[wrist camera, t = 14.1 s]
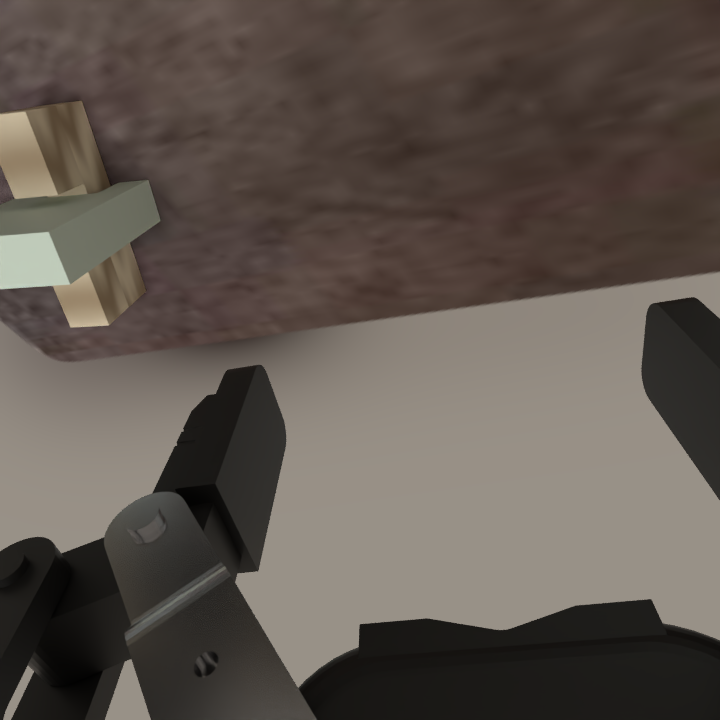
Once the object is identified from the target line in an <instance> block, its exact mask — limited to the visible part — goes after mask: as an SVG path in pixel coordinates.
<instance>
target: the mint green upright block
mask: <svg viewBox="0 0 720 720" xmlns="http://www.w3.org/2000/svg"><path fill="white" fill-rule="evenodd" d="M160 221H161V220H160V217H159V213H158V210H157V207H156V204H155V200H154V197H153V194H152V190H151V187H150V184H149V180H141V181H130V182H120V183H117V184H115V185H113V186H111V187H109V188H107V189H104V190H102V191H100V192H98V193H91V194H81V195H70V196H59V197H47V196H42V197H31V198H21V199H13V200H11V201H8V202H6V203H3V204H1V205H0V289H9V288H25V287H40V286H55V285H70V284H72V283H73V282H75V281H76V280H77V279H79V278H80V277H82V276H83V275H85V274H86V273H87V272H89V271H90V270H92V269H93V268H94V267H96V266H97V265H99V264H100V263H102V262H103V261H104V260H106V259H107V258H109V257H110V256H112V255H113V254H114V253H116V252H117V251H119V250H120V249H121V248H123V247H124V246H126V245H127V244H129V243H130V242H131V241H133V240H134V239H136V238H137V237H139V236H140V235H141V234H143V233H144V232H146V231H147V230H148V229H150V228H151V227H153V226H154V225H156V224H157V223H158V222H160Z"/></svg>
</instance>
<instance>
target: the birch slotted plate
mask: <svg viewBox="0 0 720 720" xmlns="http://www.w3.org/2000/svg"><path fill="white" fill-rule="evenodd" d="M0 165H1V168H2V170H3V172H4V174H5V177H6V179H7V181H8V184H9V186H10V188H11V191H12V193H13V195H14V198H15V199H21V198H31V197H42V196H47V197H59V196H70V195H81V194H91V193H98V192H100V191H102V190H104V189H107V188H109V187H111V186H110V183H109V180H108V177H107V174H106V171H105V168H104V165H103V162H102V159H101V156H100V153H99V150H98V147H97V144H96V141H95V138H94V135H93V133H92V130H91V127H90V124H89V121H88V118H87V115H86V112H85V109H84V106H83V103H82V101H75V102H66V103H58V104H50V105H42V106H36V107H31V108H25V109H20V110H14V111H9V112H4V113H0ZM53 287H54V290H55V292H56V294H57V297H58V299H59V301H60V304H61V306H62V308H63V311H64V313H65V315H66V317H67V320H68V322H69V324H70V327H88V326H106V325H110V324H111V323H112V322H113V321H114V320H115V319H117V318H118V317H119V316H120V315H121V314H122V313H123V312H124V311H125V310H126V309H127V308H128V307H130V306H131V305H132V304H133V303H134V302H135V301H136V300H137V299H138V298H139V297H140V296H142V295H143V294H144V293H145V292H146V289H145V286H144V283H143V280H142V277H141V274H140V271H139V268H138V265H137V262H136V259H135V256H134V253H133V250H132V247H131V244H130V243H129V244H127V245H126V246H124V247H123V248H121V249H120V250H119V251H117V252H116V253H114V254H113V255H112V256H110V257H109V258H107V259H106V260H104V261H103V262H102V263H100V264H99V265H97V266H96V267H94V268H93V269H92V270H90V271H89V272H87V273H86V274H85V275H83V276H82V277H80V278H79V279H77V280H76V281H75V282H73V283H72V284H70V285H55V286H53Z"/></svg>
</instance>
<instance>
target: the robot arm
mask: <svg viewBox="0 0 720 720" xmlns="http://www.w3.org/2000/svg"><path fill="white" fill-rule="evenodd" d="M642 381H643V385H644V389H645V392H646V394H647V396H648V398H649V399H650V401H651V402H652V404H653V405H654V407H655V408H656V410H657V411H658V412H659V414H660V415H661V417H662V418H663V420H664V421H665V422H666V424H667V425H668V427H669V428H670V430H671V431H672V432H673V434H674V435H675V437H676V438H677V440H678V441H679V443H680V444H681V445H682V447H683V448H684V450H685V451H686V453H687V454H688V455H689V457H690V458H691V460H692V461H693V463H694V464H695V465H696V467H697V468H698V470H699V471H700V473H701V474H702V475H703V477H704V478H705V480H706V481H707V483H708V484H709V486H710V487H711V488H712V490H713V491H714V493H715V494H716V495H717V497H718V498H719V500H720V319H719V318H718V317H717V316H716V315H715V314H714V313H713V312H712V311H710V310H709V309H708V308H707V307H706V306H705V305H704V304H703V303H702V302H700V301H699V300H698V299H696V298H694V297H693V298H692V297H691V298H685V299H678V300H672V301H666V302H659V303H653V304H651V305H650V306H649V308H648V311H647V315H646V325H645V338H644V348H643V358H642ZM183 429H184V432H181V434H180V437H179V439H178V441H177V446H175V447H174V449H173V452H172V453H171V456H170V457H169V460H168V462H167V464H166V466H165V468H164V470H163V472H162V474H161V476H160V479H159V481H158V483H157V485H156V487H155V489H154V491H153V493H152V494H150V495H147V496H144V497H142V498H140V499H138V500H136V501H134V502H133V503H131V504H130V505H128V506H127V507H126V508H124V509H123V510H122V511H121V512H120V513H119V514H118V515H117V516H116V517H115V518H114V519H113V521H112V522H111V524H110V525H109V527H108V529H107V531H106V533H105V537H104V538H101V539H99V540H96V541H93V542H91V543H88V544H86V545H83V546H80V547H78V548H75V549H72V550H70V551H67V552H64V553H62V554H61V553H60V551H59V550H58V549H57V548H56V546H55V545H54V544H53V542H52V541H51V540H49V539H47V538H44V537H34V538H28V539H25V540H22V541H19V542H16V543H14V544H12V545H10V546H8V547H7V548H5V549H3V550H2V551H0V720H3V717H4V714H5V711H6V709H7V706H8V704H9V702H10V700H11V698H12V696H13V694H14V692H15V690H16V688H17V686H18V684H19V682H20V680H21V677H22V676H23V673H24V672H25V669H26V667H27V665H28V666H29V667H30V668H31V669H33V670H34V673H33V675H32V677H31V679H30V682H29V683H28V686H27V688H26V690H25V692H24V694H23V696H22V698H21V700H20V702H19V705H18V707H17V709H16V711H15V713H14V715H13V717H12V719H11V720H105V717H106V714H107V711H108V708H109V705H110V703H111V700H112V697H113V694H114V691H115V688H116V685H117V682H118V679H119V676H120V673H121V670H122V668H123V665H124V662H125V661H127V660H129V659H132V662H133V665H134V668H135V671H136V674H137V677H138V680H139V684H140V687H141V690H142V693H143V696H144V699H145V702H146V705H147V709H148V712H149V714H150V718H151V720H720V640H717V639H715V638H713V637H710V636H707V635H704V634H701V633H698V632H696V631H692V630H689V629H685V628H681V627H678V626H674V625H668V624H662V621H661V619H660V617H659V615H658V613H657V611H656V609H655V606H654V604H653V602H652V600H651V599H648V600H637V601H625V602H614V603H602V604H591V605H579V606H574V607H571V608H568V609H565V610H562V611H560V612H557V613H554V614H551V615H548V616H546V617H543V618H540V619H537V620H534V621H531V622H529V623H526V624H523V625H520V626H517V627H514V628H512V629H508V630H493V629H487V628H481V627H475V626H469V625H463V624H457V623H451V622H445V621H439V620H433V619H416V620H405V621H393V622H381V623H370V624H360V629H359V647H358V648H356V649H353V650H351V651H349V652H346V653H344V654H343V655H340V656H339V657H336V658H334V659H333V660H331V661H330V662H328V663H327V664H326V665H324V666H323V667H321V668H319V669H318V670H317V671H316V672H315V673H314V674H313V675H311V676H310V677H309V678H308V679H306V680H305V681H304V683H303V684H302V685H301V686H300V687H299V688H298V687H297V686H296V684H295V682H294V681H293V679H292V677H291V676H290V674H289V672H288V671H287V669H286V667H285V666H284V664H283V662H282V661H281V659H280V657H279V656H278V654H277V652H276V651H275V649H274V647H273V645H272V644H271V642H270V641H269V639H268V637H267V635H266V634H265V632H264V630H263V629H262V627H261V625H260V624H259V622H258V620H257V619H256V617H255V615H254V614H253V612H252V610H251V609H250V607H249V606H248V604H247V602H246V600H245V599H244V597H243V595H242V594H241V592H240V590H239V589H238V587H237V585H236V584H235V580H236V577H237V573H245V572H255V571H258V570H259V565H260V560H261V556H262V551H263V547H264V542H265V538H266V533H267V528H268V524H269V520H270V515H271V511H272V506H273V502H274V497H275V493H276V488H277V483H278V479H279V474H280V470H281V465H282V461H283V456H284V452H285V447H286V430H285V424H284V420H283V417H282V414H281V411H280V408H279V406H278V403H277V400H276V398H275V395H274V392H273V389H272V387H271V384H270V381H269V378H268V375H267V373H266V371H265V369H264V367H263V366H262V365H255V366H248V367H242V368H236V369H230V370H227V371H226V372H225V374H224V376H223V379H222V381H221V383H220V386H219V388H218V390H217V393H216V394H214V395H208V396H206V397H205V398H204V399H203V400H202V401H201V402H200V403H199V404H198V405H197V406H196V407H195V408H194V409H193V410H192V412H191V414H190V416H189V418H188V420H187V422H186V424H185V426H184V428H183Z"/></svg>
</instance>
